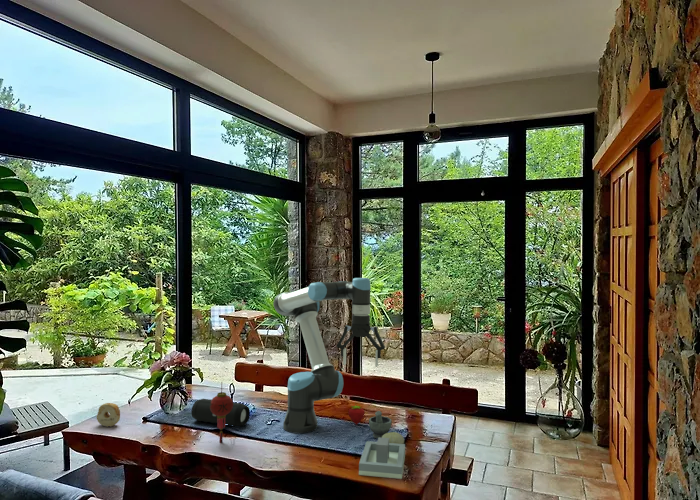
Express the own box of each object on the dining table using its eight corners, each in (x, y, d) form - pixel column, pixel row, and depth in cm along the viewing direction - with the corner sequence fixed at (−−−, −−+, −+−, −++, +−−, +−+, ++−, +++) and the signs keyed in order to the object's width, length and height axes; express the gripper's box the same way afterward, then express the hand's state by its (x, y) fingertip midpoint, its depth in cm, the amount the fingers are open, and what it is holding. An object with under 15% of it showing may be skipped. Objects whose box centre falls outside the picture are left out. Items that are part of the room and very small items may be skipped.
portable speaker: (189, 423, 211) (190, 401, 211) (203, 416, 221) (203, 395, 221) (239, 430, 203) (239, 407, 203) (250, 423, 213) (251, 401, 213)
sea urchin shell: (377, 436, 194) (391, 422, 194) (390, 449, 194) (404, 435, 194) (380, 445, 184) (394, 430, 185) (394, 459, 185) (408, 444, 185)
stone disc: (122, 424, 209) (122, 402, 209) (116, 427, 205) (116, 405, 205) (101, 423, 210) (101, 400, 211) (95, 426, 207) (96, 403, 207)
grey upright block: (376, 464, 168) (376, 444, 169) (378, 455, 175) (378, 437, 175) (387, 465, 168) (387, 445, 168) (389, 456, 175) (389, 438, 175)
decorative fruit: (363, 427, 208) (363, 405, 208) (346, 426, 210) (347, 403, 210) (365, 423, 214) (366, 401, 214) (349, 421, 216) (350, 399, 216)
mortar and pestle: (371, 430, 205) (371, 403, 205) (392, 432, 203) (392, 405, 203) (366, 440, 194) (366, 411, 194) (389, 442, 192) (389, 413, 192)
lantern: (207, 439, 193) (208, 367, 193) (230, 436, 196) (231, 365, 197) (210, 448, 184) (211, 372, 184) (234, 445, 188) (235, 370, 188)
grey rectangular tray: (358, 474, 163) (359, 463, 163) (366, 451, 183) (366, 441, 183) (401, 478, 161) (402, 467, 161) (405, 454, 180) (405, 444, 180)
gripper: (330, 314, 195) (329, 365, 194) (389, 316, 190) (389, 368, 190) (333, 312, 202) (333, 361, 202) (391, 314, 198) (391, 364, 198)
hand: (360, 365), depth 196 cm, fingers open, 13 cm apart
